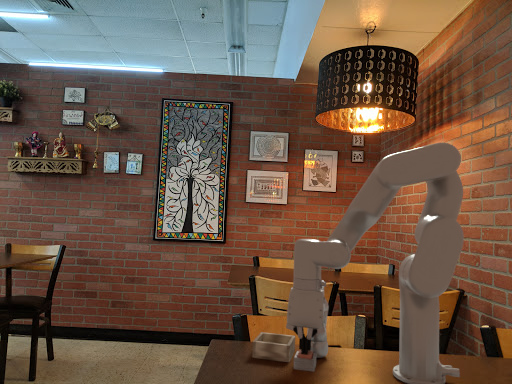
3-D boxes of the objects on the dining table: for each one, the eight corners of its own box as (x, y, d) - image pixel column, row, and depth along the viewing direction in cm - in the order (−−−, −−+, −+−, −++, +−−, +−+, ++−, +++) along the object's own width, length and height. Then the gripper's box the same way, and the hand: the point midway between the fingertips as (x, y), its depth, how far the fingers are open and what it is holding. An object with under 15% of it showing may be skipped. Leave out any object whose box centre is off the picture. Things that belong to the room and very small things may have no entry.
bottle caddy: (294, 351, 121) (295, 335, 121) (289, 362, 112) (289, 345, 112) (260, 346, 124) (261, 332, 124) (252, 357, 114) (252, 341, 115)
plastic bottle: (329, 360, 114) (331, 289, 115) (305, 360, 114) (307, 288, 115) (326, 353, 120) (327, 285, 121) (303, 352, 120) (305, 284, 121)
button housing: (316, 364, 111) (316, 353, 111) (314, 371, 106) (314, 360, 106) (296, 361, 112) (297, 350, 112) (293, 369, 107) (293, 357, 107)
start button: (312, 363, 110) (313, 351, 110) (311, 367, 107) (311, 355, 107) (299, 361, 111) (299, 349, 111) (297, 366, 108) (297, 354, 108)
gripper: (335, 284, 112) (333, 351, 111) (282, 280, 116) (280, 345, 115) (333, 289, 104) (331, 361, 104) (277, 284, 108) (275, 353, 107)
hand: (304, 352), depth 109 cm, fingers closed
